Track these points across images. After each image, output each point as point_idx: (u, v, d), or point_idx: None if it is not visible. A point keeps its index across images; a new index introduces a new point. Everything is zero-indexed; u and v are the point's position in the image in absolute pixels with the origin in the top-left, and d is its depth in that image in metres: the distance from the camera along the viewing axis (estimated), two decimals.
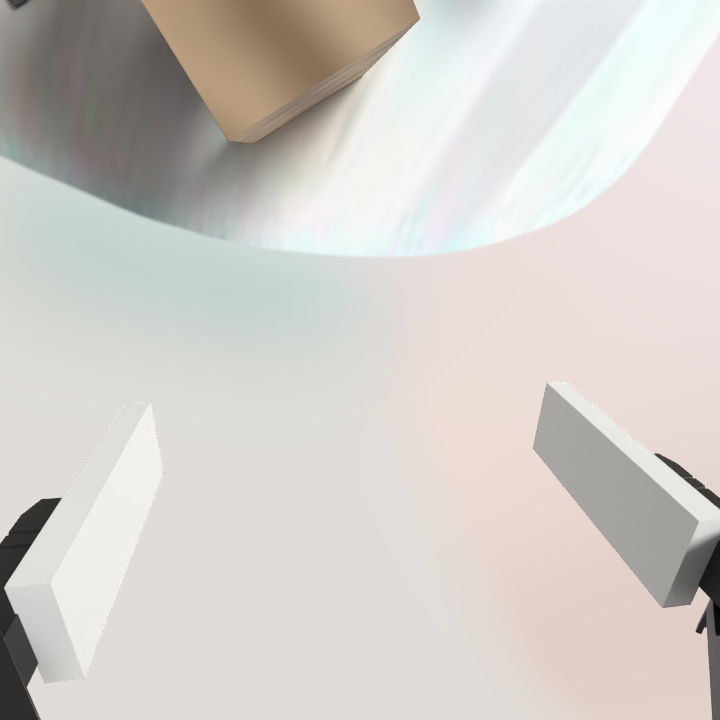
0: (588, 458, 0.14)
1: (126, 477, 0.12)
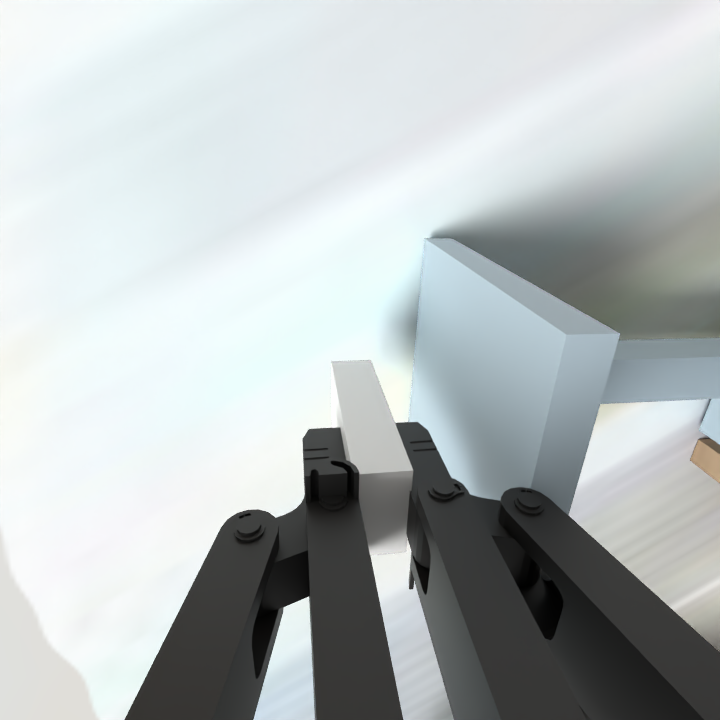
0: None
1: None
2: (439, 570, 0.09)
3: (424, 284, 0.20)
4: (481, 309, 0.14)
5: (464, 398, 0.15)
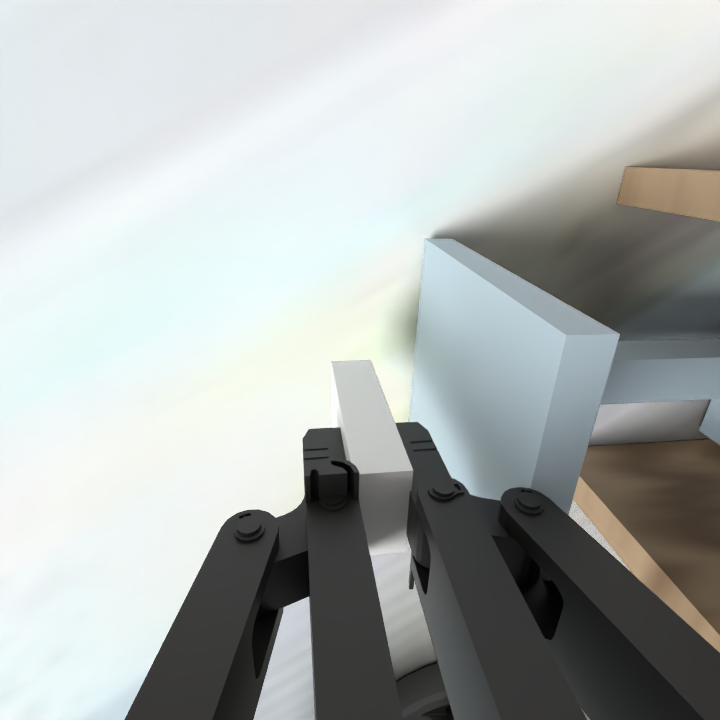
0: None
1: None
2: (439, 570, 0.09)
3: (424, 284, 0.20)
4: (481, 310, 0.14)
5: (464, 398, 0.15)
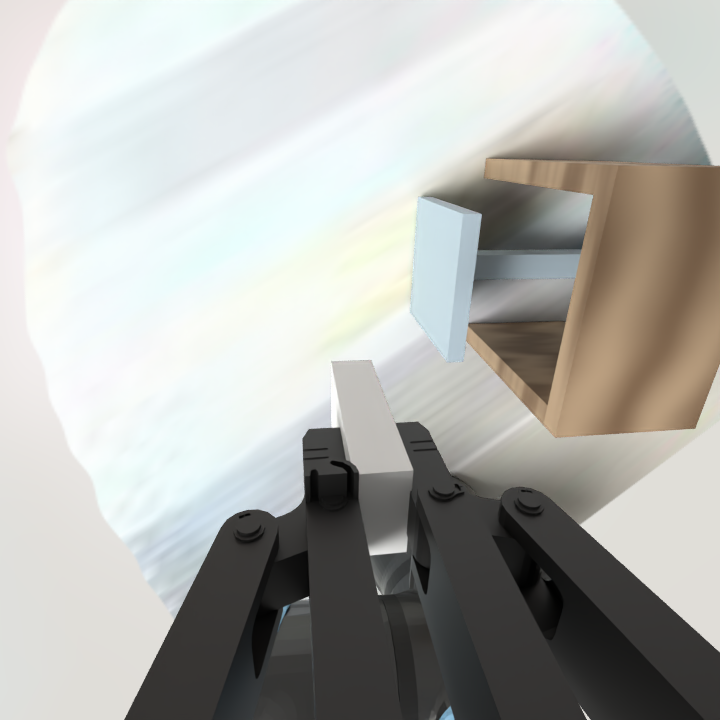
0: None
1: None
2: (439, 570, 0.09)
3: (418, 220, 0.38)
4: (441, 219, 0.32)
5: (435, 263, 0.34)
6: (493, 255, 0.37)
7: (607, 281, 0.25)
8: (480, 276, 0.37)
